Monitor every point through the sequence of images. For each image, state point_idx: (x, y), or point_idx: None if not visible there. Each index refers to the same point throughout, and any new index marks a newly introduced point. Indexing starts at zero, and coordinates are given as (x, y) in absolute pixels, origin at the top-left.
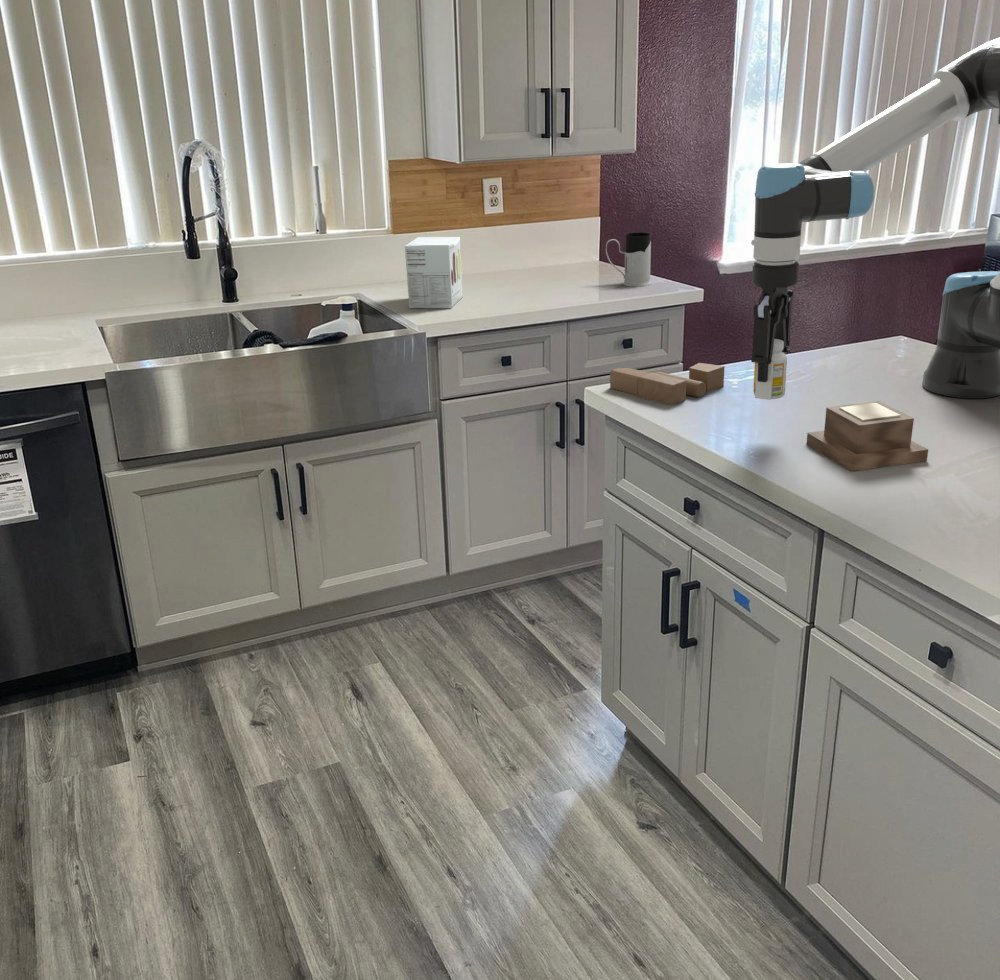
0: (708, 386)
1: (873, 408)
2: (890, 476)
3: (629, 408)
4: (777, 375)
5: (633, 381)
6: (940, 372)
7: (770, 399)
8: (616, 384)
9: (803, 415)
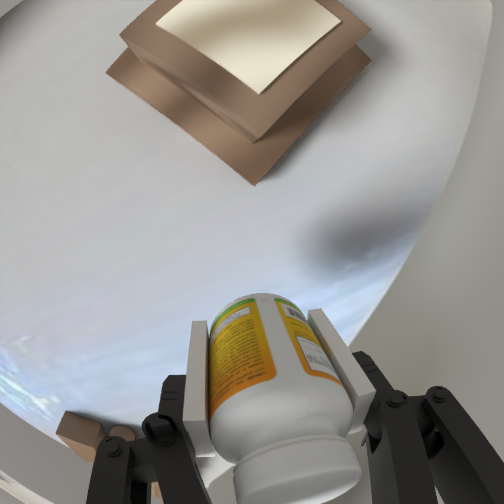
0: (96, 428)
1: (218, 10)
2: None
3: None
4: (319, 348)
5: None
6: None
7: (317, 309)
8: None
9: (81, 263)
